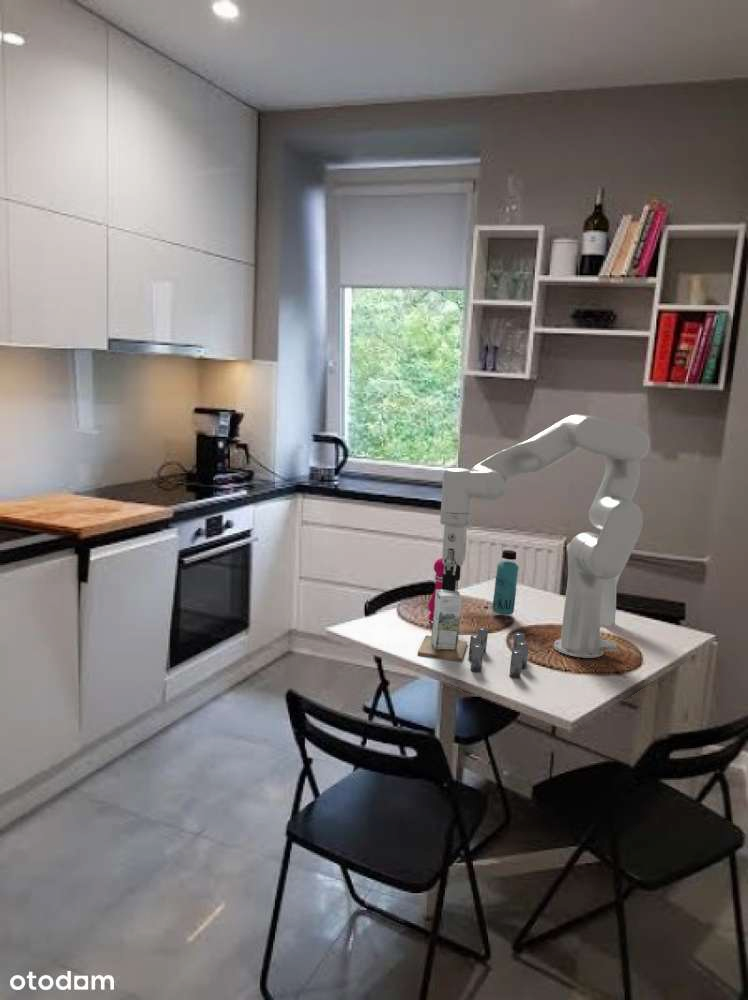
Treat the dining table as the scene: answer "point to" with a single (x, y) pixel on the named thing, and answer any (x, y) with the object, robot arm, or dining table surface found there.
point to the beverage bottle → (505, 584)
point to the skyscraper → (609, 602)
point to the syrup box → (446, 619)
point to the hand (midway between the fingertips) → (451, 584)
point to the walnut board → (430, 651)
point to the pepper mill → (439, 578)
